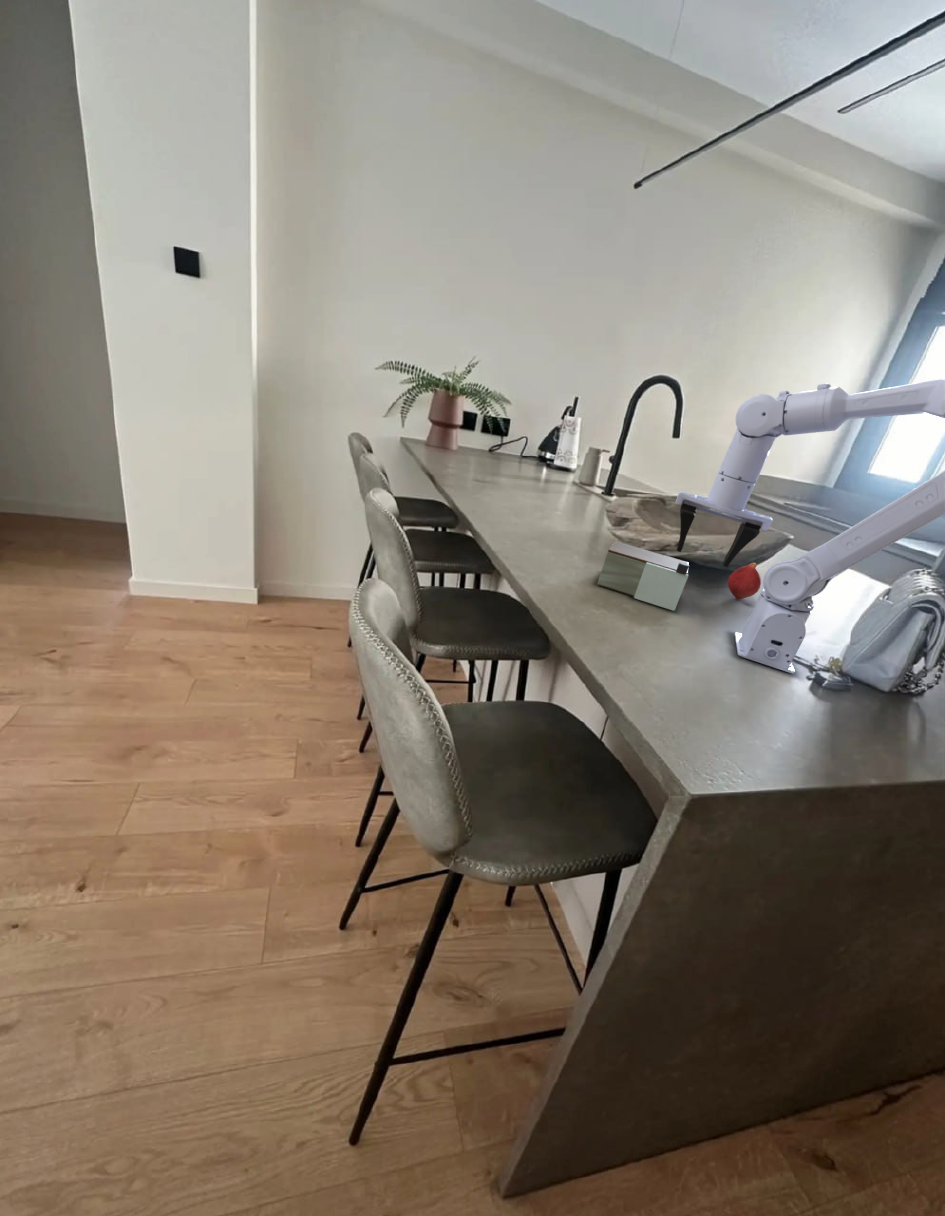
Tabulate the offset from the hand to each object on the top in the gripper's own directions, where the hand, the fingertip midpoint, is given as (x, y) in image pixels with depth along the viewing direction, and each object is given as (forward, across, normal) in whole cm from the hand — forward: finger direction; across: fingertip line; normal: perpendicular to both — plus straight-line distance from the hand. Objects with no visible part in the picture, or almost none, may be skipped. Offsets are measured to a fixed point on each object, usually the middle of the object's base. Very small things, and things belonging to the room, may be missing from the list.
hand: (701, 557), depth 88 cm
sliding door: (+10, +4, 0) cm, 11 cm away
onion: (+11, -11, -20) cm, 25 cm away
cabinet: (+11, +8, -5) cm, 14 cm away
